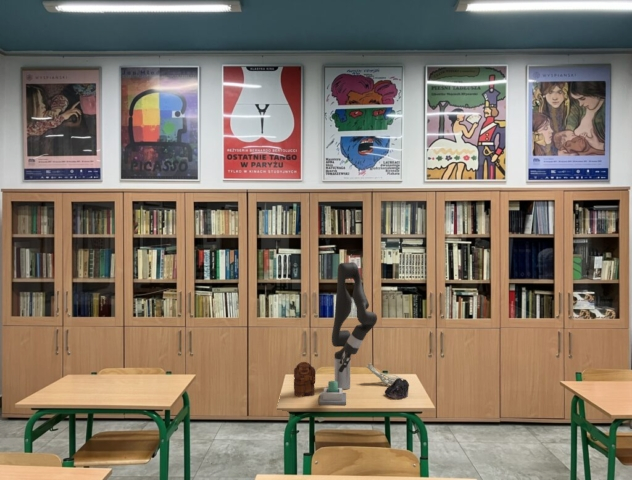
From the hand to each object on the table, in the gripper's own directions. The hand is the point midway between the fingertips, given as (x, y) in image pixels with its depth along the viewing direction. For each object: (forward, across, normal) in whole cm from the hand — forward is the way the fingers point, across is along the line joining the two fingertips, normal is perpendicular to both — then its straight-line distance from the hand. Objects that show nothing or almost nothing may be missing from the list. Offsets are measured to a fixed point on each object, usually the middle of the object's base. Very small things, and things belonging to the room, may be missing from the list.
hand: (340, 367), depth 269 cm
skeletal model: (+10, -26, +34) cm, 44 cm away
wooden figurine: (+25, -1, -10) cm, 27 cm away
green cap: (+14, +7, +3) cm, 16 cm away
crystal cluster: (+3, -3, +36) cm, 36 cm away
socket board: (+15, +7, +3) cm, 17 cm away
